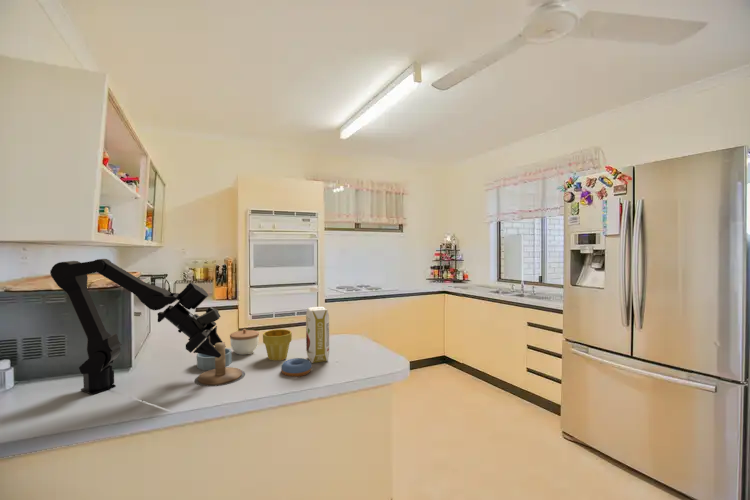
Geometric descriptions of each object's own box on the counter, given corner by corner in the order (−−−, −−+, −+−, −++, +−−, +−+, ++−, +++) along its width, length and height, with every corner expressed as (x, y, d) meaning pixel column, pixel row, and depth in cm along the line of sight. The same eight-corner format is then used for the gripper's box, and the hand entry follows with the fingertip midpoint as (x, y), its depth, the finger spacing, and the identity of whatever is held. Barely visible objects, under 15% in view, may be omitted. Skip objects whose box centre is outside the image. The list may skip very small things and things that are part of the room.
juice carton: (325, 354, 141) (324, 305, 141) (330, 361, 133) (330, 309, 133) (305, 357, 139) (305, 307, 138) (309, 364, 131) (309, 311, 130)
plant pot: (285, 363, 131) (284, 336, 131) (258, 362, 133) (257, 335, 133) (296, 354, 141) (295, 329, 141) (270, 353, 143) (270, 328, 143)
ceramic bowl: (211, 372, 122) (211, 359, 122) (190, 367, 127) (189, 354, 127) (237, 363, 132) (237, 350, 132) (217, 358, 137) (216, 346, 137)
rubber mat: (216, 391, 108) (216, 389, 108) (183, 382, 115) (183, 380, 115) (255, 374, 121) (255, 373, 121) (223, 367, 128) (223, 366, 128)
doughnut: (296, 379, 116) (296, 365, 116) (274, 375, 121) (274, 361, 121) (317, 373, 124) (317, 359, 124) (296, 369, 129) (296, 356, 130)
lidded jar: (250, 358, 137) (249, 333, 137) (224, 356, 140) (223, 332, 139) (264, 349, 148) (263, 326, 148) (240, 348, 150) (239, 325, 150)
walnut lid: (217, 388, 109) (216, 352, 109) (188, 380, 115) (188, 346, 115) (250, 373, 120) (250, 341, 120) (223, 367, 127) (222, 336, 126)
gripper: (196, 306, 107) (237, 340, 110) (208, 296, 125) (243, 326, 128) (167, 335, 105) (209, 369, 108) (184, 321, 123) (220, 350, 126)
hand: (222, 352), depth 118 cm, fingers open, 9 cm apart
